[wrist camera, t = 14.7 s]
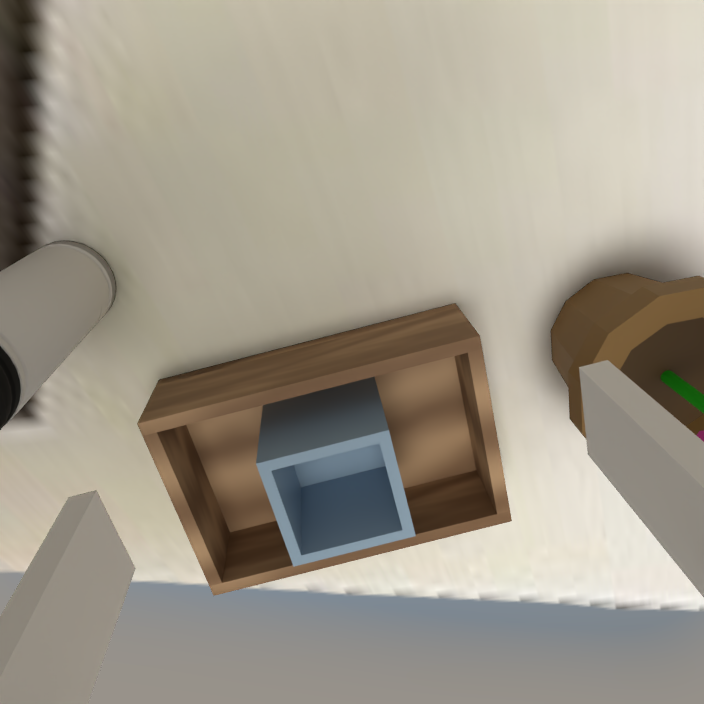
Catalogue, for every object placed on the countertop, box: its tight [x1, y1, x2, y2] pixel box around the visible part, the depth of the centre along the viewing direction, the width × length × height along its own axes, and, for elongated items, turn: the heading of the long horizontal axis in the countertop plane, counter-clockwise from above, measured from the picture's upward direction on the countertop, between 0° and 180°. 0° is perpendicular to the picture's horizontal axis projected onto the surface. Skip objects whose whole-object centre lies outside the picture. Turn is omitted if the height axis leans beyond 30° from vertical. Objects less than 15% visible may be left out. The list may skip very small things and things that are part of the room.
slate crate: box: [256, 377, 416, 566], centre depth 46 cm, size 9×9×9 cm
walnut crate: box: [137, 304, 512, 595], centre depth 48 cm, size 16×24×7 cm, turn 104°
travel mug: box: [0, 241, 116, 430], centre depth 35 cm, size 6×7×20 cm
